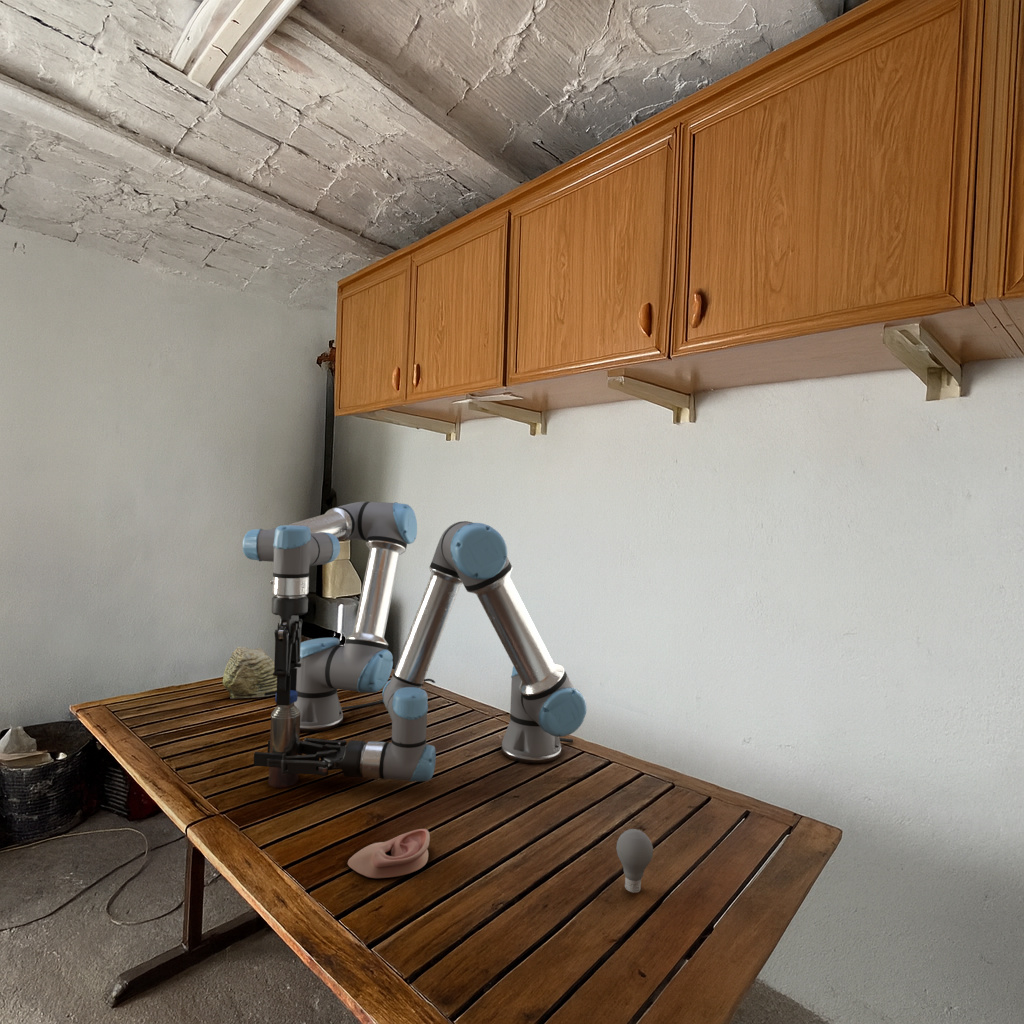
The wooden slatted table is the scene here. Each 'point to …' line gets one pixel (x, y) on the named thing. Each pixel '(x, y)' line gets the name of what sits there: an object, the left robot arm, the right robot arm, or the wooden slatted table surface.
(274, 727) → the bottle
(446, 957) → the wooden slatted table surface
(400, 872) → the anatomical model
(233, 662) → the fossil
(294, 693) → the cap
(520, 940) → the wooden slatted table surface
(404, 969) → the wooden slatted table surface
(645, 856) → the light bulb
